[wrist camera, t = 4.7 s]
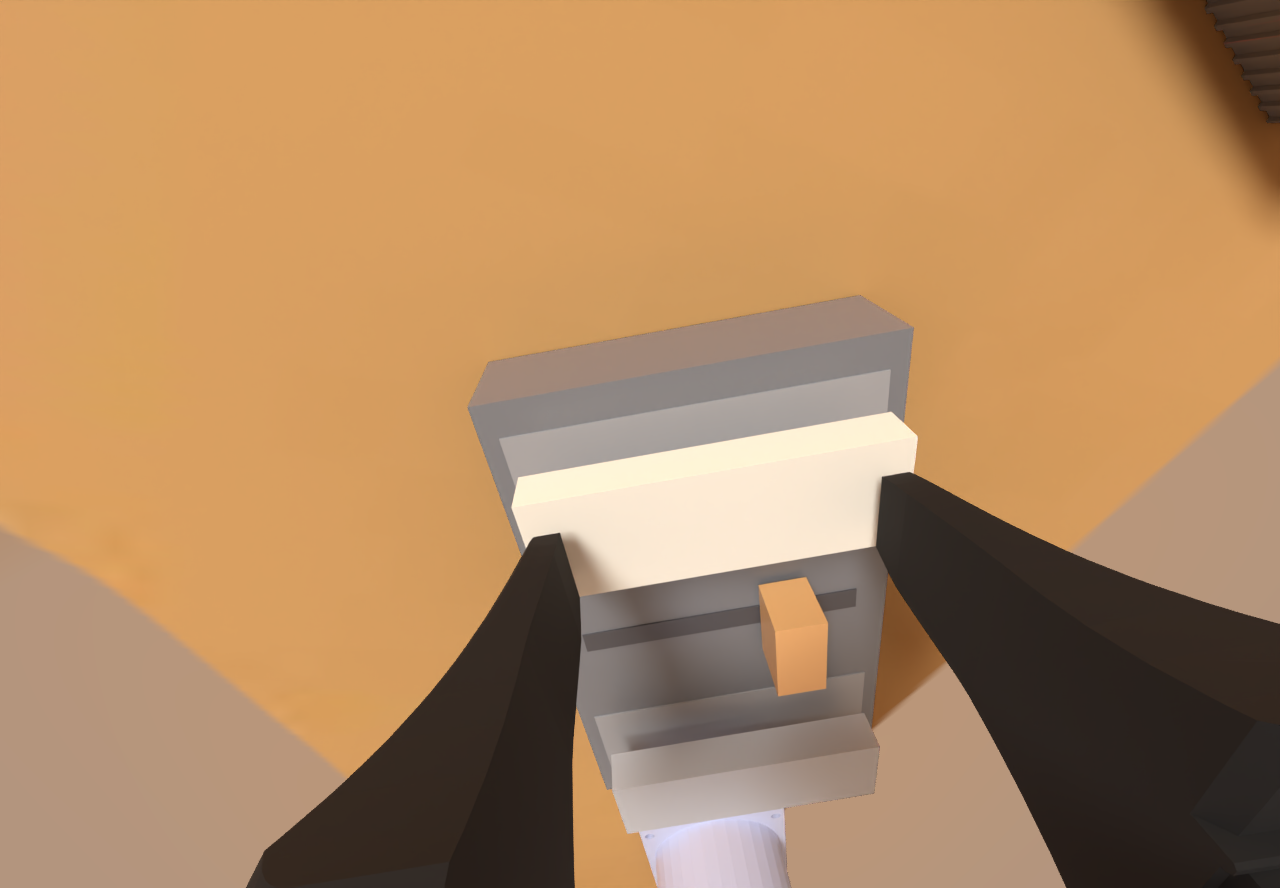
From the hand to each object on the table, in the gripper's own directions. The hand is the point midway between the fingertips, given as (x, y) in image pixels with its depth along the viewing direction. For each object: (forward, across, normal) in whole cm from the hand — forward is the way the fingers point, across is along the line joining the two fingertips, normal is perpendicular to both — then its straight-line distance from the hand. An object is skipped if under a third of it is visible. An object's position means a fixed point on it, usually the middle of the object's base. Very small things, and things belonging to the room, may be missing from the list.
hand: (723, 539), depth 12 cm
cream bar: (+2, 0, 0) cm, 2 cm away
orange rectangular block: (+3, -2, +6) cm, 7 cm away
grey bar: (+2, 0, +12) cm, 12 cm away
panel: (+6, 0, +6) cm, 8 cm away
